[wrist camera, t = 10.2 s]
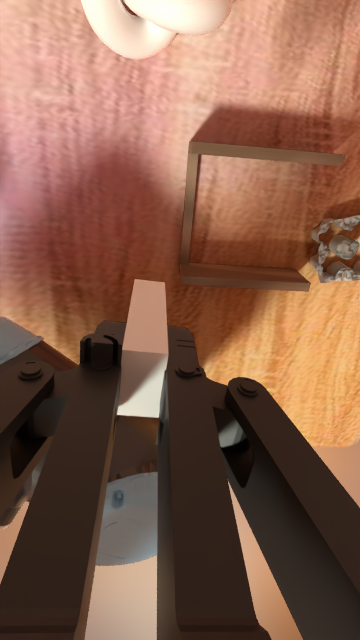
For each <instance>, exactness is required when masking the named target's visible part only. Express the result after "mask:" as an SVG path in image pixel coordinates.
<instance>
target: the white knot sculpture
mask: <svg viewBox="0 0 360 640" xmlns="http://www.w3.org/2000/svg"><path fill="white" fill-rule="evenodd" d="M122 1H123V2H124V3H125V4H126V5H127V6H128V7H129V8H130V9H131V10H132V11H133V12H134V13H135V14H137V15H132V14H130V13H129V12H128V11H127V10H126V8H125V7H124V5H123V4H122V2H121V0H81V3H82V5H83V8H84V11H85V14H86V17H87V19H88V21H89V23H90V25H91V26H92V28H93V30H94V32H95V33H96V34H97V36H98V37H99V38H100V39H101V41H102V42H103V43H105V44H106V45H107V46H108V47H109V48H110V49H112V50H113V51H115V52H116V53H118V54H120V55H122V56H124V57H126V58H130V59H145V58H149V57H152V56H154V55H156V54H158V53H159V52H160V51H162V50H163V49H165V48H166V47H167V46H168V45H169V44H170V43H171V41H172V40H173V39H174V37H175V36H176V34H177V33H179V34H185V35H203V34H206V33H209V32H211V31H214V30H216V29H218V28H219V27H220V26H222V24H223V23H224V21H225V20H226V18H227V17H228V15H229V14H230V12H231V7H232V1H233V0H122Z"/></svg>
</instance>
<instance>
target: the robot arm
mask: <svg viewBox="0 0 360 640" xmlns="http://www.w3.org/2000/svg"><path fill="white" fill-rule="evenodd" d="M43 339H44V338H43V337H41V336H36V335H34V334H32V333H31V332H29V331H28V330H26V329H24V328H23V327H21V326H19V325H18V324H16V323H14V322H13V321H11V320H9V319H7V318H5V317H1V316H0V531H2V530H4V529H6V528H7V527H8V526H9V524H10V523H11V522H12V520H13V519H14V517H15V516H16V514H17V513H18V511H19V509H20V508H21V506H22V505H23V503H24V502H25V501H28V502H30V503H29V506H28V509H27V512H26V515H25V517H24V520H23V523H22V526H21V528H20V531H19V534H18V537H17V540H16V542H15V545H14V548H13V551H12V554H11V556H10V559H9V562H8V565H7V567H6V570H5V573H4V576H3V579H2V581H1V584H0V640H84V638H85V631H86V625H87V618H88V611H89V605H90V598H91V591H92V584H93V578H94V571H95V565H98V566H114V565H124V564H128V563H135V562H139V561H142V560H145V559H148V558H151V557H153V556H156V555H157V640H271V638H270V635H269V633H268V632H267V631H266V630H265V629H264V628H263V627H261V626H260V625H259V623H258V620H257V618H256V615H255V611H254V607H253V602H252V597H251V592H250V587H249V582H248V577H247V572H246V568H245V563H244V558H243V553H242V548H241V543H240V539H239V534H238V529H237V524H236V519H235V514H234V509H233V504H232V499H231V495H230V490H229V485H228V481H229V483H230V485H231V488H232V490H233V492H234V494H235V496H236V498H237V500H238V502H239V504H240V507H241V509H242V511H243V513H244V515H245V517H246V519H247V521H248V524H249V526H250V528H251V529H252V532H253V534H254V536H255V538H256V540H257V542H258V545H259V547H260V549H261V551H262V553H263V555H264V557H265V560H266V562H267V564H268V566H269V568H270V570H271V572H272V574H273V577H274V579H275V581H276V583H277V585H278V587H279V589H280V591H281V594H282V596H283V598H284V600H285V602H286V604H287V606H288V608H289V610H290V613H291V615H292V617H293V619H294V621H295V623H296V625H297V627H298V630H299V632H300V634H301V636H302V638H303V640H360V508H359V506H358V505H357V504H356V503H355V501H354V500H353V499H352V497H351V496H350V495H349V494H348V492H347V491H346V490H345V489H344V487H343V486H342V485H341V484H340V482H339V481H338V480H337V479H336V477H335V476H334V475H333V473H332V472H331V471H330V470H329V468H328V467H327V466H326V465H325V463H324V462H323V461H322V460H321V458H320V457H319V456H318V454H317V453H316V452H315V451H314V449H313V448H312V447H311V445H310V444H309V443H308V442H307V440H306V439H305V438H304V437H303V435H302V434H301V433H300V431H299V430H298V429H297V428H296V426H295V425H294V424H293V423H292V421H291V420H290V419H289V418H288V416H287V415H286V414H285V412H284V411H283V410H282V409H281V407H280V406H279V405H278V404H277V402H276V401H275V400H274V399H273V397H272V396H271V395H270V393H269V392H268V391H267V390H266V388H265V387H264V386H262V385H261V384H260V383H259V382H257V381H255V380H253V379H249V378H244V377H238V378H233V379H232V380H230V381H229V383H228V386H227V385H224V384H220V383H217V382H214V381H212V380H210V379H208V378H207V377H206V373H205V371H204V369H203V368H201V367H200V366H199V363H198V358H197V352H196V348H195V343H194V336H193V334H192V333H191V332H190V330H189V329H188V328H182V327H172V326H167V314H166V294H165V282H157V281H148V280H140V279H135V280H134V286H133V291H132V297H131V303H130V308H129V314H128V319H127V323H124V322H114V321H105V320H104V321H103V322H102V323H100V324H99V325H98V326H97V328H96V331H95V333H94V334H89V335H87V336H85V337H83V339H82V340H81V341H80V364H79V365H78V364H76V363H75V362H73V361H72V360H70V359H69V358H67V357H66V356H64V355H63V354H61V353H60V352H59V351H57V350H56V349H54V348H53V347H51V346H50V345H48V344H47V343H46V342H44V341H43ZM227 479H228V480H227Z"/></svg>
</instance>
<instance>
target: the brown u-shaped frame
mask: <svg viewBox="0 0 360 640" xmlns="http://www.w3.org/2000/svg"><path fill="white" fill-rule="evenodd" d="M198 154H203V155H215V156H227V157H239V158H251V159H262V160H274V161H286V162H298V163H310V164H321V165H333V166H343V162H344V159H345V155H343V154H332V153H320V152H309V151H298V150H286V149H275V148H263V147H252V146H241V145H229V144H218V143H206V142H195V141H192V142H189V151H188V164H187V177H186V189H185V202H184V215H183V228H182V240H181V253H180V266H179V272H180V279H181V285H192V286H211V287H230V288H249V289H268V290H287V291H305V292H309V288H310V284H311V283H310V282H309V281H308V280H306V279H305V278H304V277H303V276H302V275H301V274H300V273H299V272H298V271H297V270H296V269H288V268H271V267H254V266H237V265H220V264H202V263H189V253H190V242H191V231H192V220H193V209H194V198H195V187H196V176H197V165H198Z"/></svg>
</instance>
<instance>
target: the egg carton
mask: <svg viewBox="0 0 360 640" xmlns="http://www.w3.org/2000/svg"><path fill="white" fill-rule="evenodd" d="M359 221H360V214H358V215H355V216H351V217H348V218H343V219H337V220H334V219H332V218H326V219H323V220H322V222H321V224H320V226H319V227H317V228H316V229H314V230H312V233H311V234H312V235H311V238H312V239H314V240H315V241H317V242H319V243H320V246H319V249H318V250H319V251H318V253H317V254H316V255H314V256H312V257H310V265H311V266H312V267H313V268H315V269H316V270H317V271H318V275H319V279H320V283H326V282H333V281H342V280H346V281H354V280H360V259H359V260H358V261H357V262H356V263H355V265H354V267H353V268H349V267H348V266H346V265H345V264H343V263H342V262H333V263H332V264H330V265H329V267H328V268H327V271H326V272H323V267H322V266H321V265H322V263H324V262H325V258H326V257H327V256H328V255H329V253H330V251H331V252H332V253H334V254H335V255H337V256H338V257H340V258H342V259H351V258H352V257H353V256H354V255H355V254H356V253H357V251H358V248H360V236H359V237H358V239H357V241H355V240H352V239H350V238H348V237H346V236H343V235H337V236H335V237H333V238H332V239H331V241H330V243H329V249H328V248H327V246H326V245H325V244H323V241H320V240H319V234H321V233H325V232H326V231H327V230H328V229H329V228H330V223H333V224H334V225H335V226H338V227H340V228H342V229H344V230H348V231H353V229H354V227H355V225H357V224H358V223H359Z"/></svg>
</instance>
